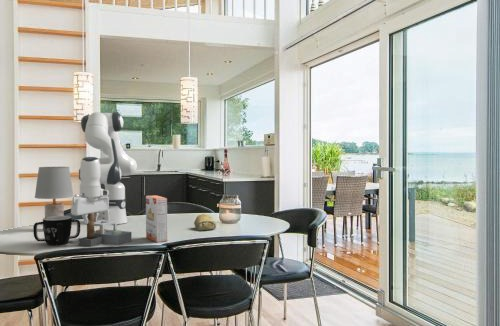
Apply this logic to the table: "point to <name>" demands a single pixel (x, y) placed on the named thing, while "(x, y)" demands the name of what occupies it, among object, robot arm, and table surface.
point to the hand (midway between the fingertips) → (90, 222)
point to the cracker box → (156, 218)
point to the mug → (57, 230)
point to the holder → (90, 241)
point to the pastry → (204, 223)
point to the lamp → (53, 188)
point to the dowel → (90, 226)
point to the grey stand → (111, 233)
